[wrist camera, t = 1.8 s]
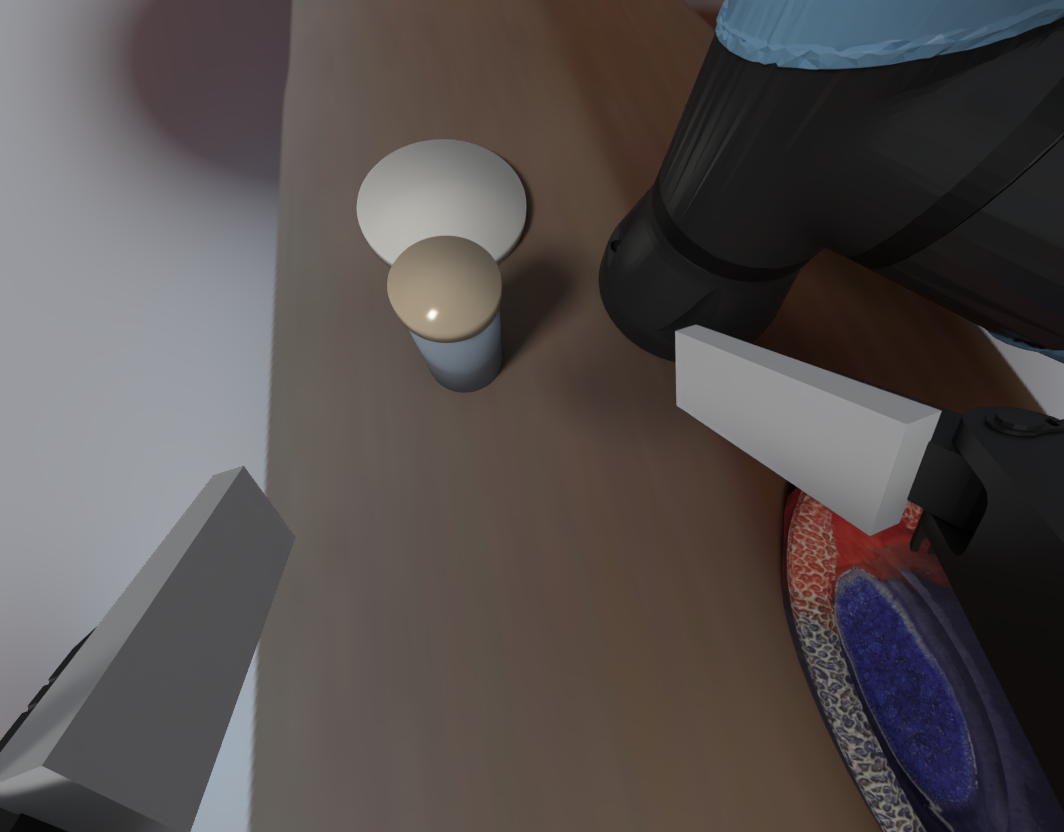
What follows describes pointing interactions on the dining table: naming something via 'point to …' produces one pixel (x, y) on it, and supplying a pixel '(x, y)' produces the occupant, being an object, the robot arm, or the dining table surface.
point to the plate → (441, 199)
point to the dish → (905, 680)
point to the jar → (451, 309)
